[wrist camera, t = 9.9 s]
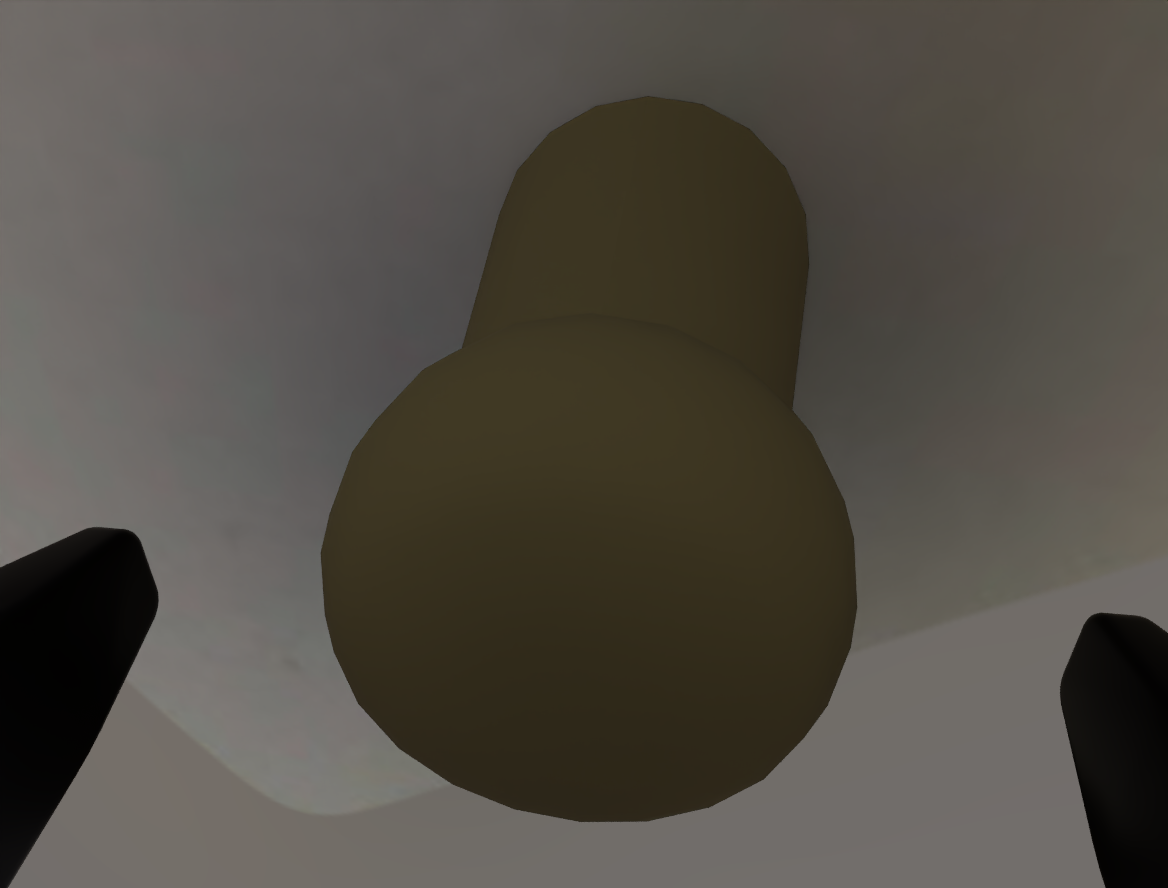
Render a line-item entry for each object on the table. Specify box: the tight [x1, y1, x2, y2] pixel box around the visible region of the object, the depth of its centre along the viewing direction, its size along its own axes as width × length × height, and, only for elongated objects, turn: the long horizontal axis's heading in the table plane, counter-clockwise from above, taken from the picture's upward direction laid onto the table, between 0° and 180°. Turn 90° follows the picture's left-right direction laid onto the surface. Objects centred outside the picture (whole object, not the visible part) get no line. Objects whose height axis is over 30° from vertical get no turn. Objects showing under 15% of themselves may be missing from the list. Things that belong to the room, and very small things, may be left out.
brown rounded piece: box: [321, 96, 857, 822], centre depth 12 cm, size 6×6×11 cm
